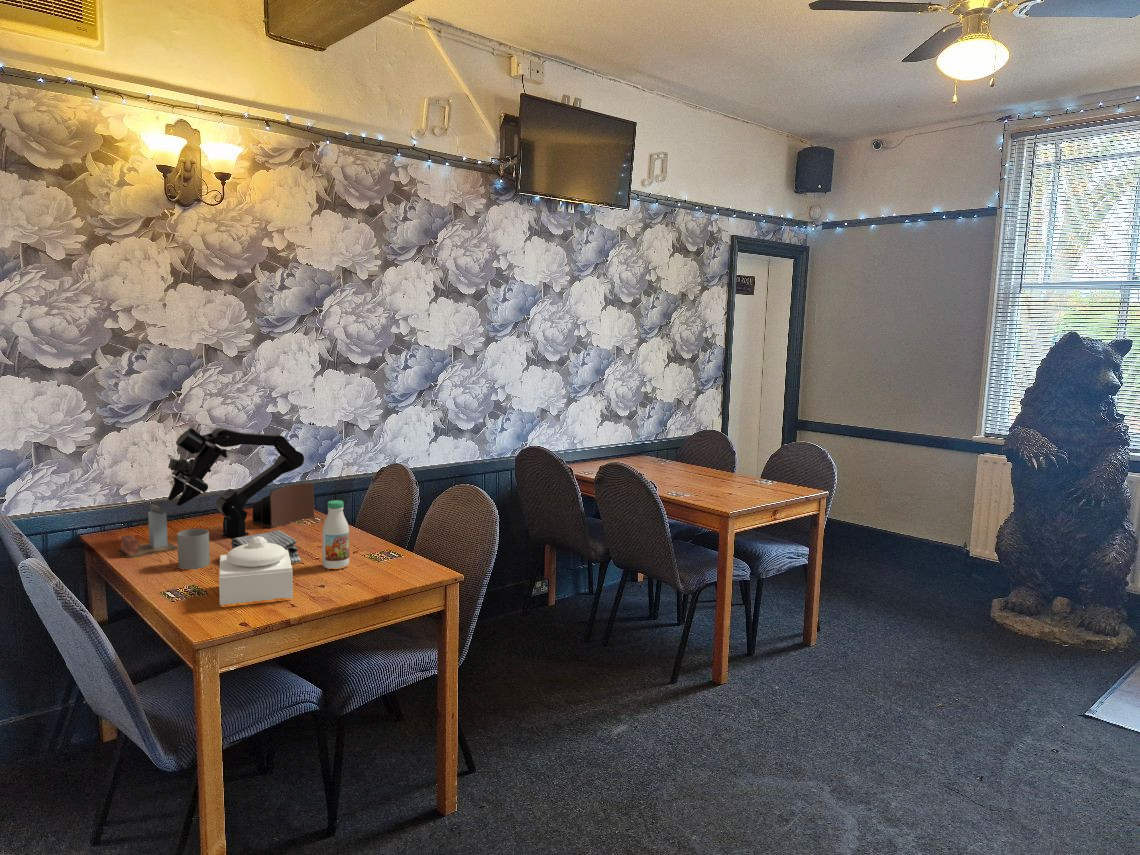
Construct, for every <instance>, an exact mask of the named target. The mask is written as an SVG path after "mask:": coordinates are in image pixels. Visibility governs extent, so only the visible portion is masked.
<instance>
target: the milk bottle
mask: <svg viewBox="0 0 1140 855" xmlns="http://www.w3.org/2000/svg"><path fill="white" fill-rule="evenodd" d="M326 504H327V515H326V518H325V521H324V523H323V526H322V540H321V543H322V545H321V546H322V547H321V548H322V549H321V550H322V551H321V553H322V555H321V558H322V559H321V560H322V567H323V566H324V567H326V568H340V567H344V566H347V565H348V564H349V565H350V530H349V528H350V527H349V523H348V521H347V519H346V517H345V514H344V509H345V508H344V506H345V505H344V501H343V500H336V499H335V500H329V501H327V503H326ZM324 567H323V568H324Z"/></svg>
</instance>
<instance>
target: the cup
mask: <svg viewBox="0 0 1140 855" xmlns="http://www.w3.org/2000/svg"><path fill="white" fill-rule="evenodd" d="M176 537H177V538H176V539H177V564H178V568H179V567H180V568H183V569H182V570H184V569H194V570H199V569H198V568H201V569H203V567H204V568H206V567H205V566H207V565H209V566H210V564H209V563H211V562H210V560H211V559H210V530H208V529H204V528H191V529H183V530H181V531H179V532H177V534H176ZM207 567H208V566H207ZM180 568H179V569H180Z"/></svg>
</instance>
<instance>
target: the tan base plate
mask: <svg viewBox="0 0 1140 855" xmlns="http://www.w3.org/2000/svg"><path fill="white" fill-rule="evenodd" d="M138 542H139V540H138V539H137V538H136V537H134V536H132V535H131V534H127V535H121V536H120V543H121V548H120V552H121V553H123V554H124V555H125V554H126V556H127V555H128V556H129V557H128V556H127V557H128V558H130V557H133V558H136V557H135V556H138V557H141V556H140V555H144V556H147V555H146V554H149V555H152V554H151V553H155V554H157V553H156V552H161V553H163V552H162V551H166V552H168V551H167V550H172V551H176V550H175V549H177V550H178V546H177V545H175V544H173V543H171V542H169V540H167V542H168V546H166V547H160V548H152V547H151V546H149V543H147V544H146V543H145V544H141V545H139V543H138Z"/></svg>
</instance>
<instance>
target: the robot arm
mask: <svg viewBox="0 0 1140 855" xmlns="http://www.w3.org/2000/svg"><path fill="white" fill-rule="evenodd" d="M206 442H207V443H208V444H207V443H206ZM209 444H211V445H209ZM175 445H176V446H178V447H179V448H180V449H182V450H184V451H186V452H188V453H189V454H191V455H193V454H197V455H196V457H194V458H191V459H189V461H188V460H187V459H183V458H180V459H176V458H170V460H169V463H168V466H167V468H168V469H170V470H171V471H172V473H171V475H172V476H171V478H172V479H173V484H172V487H171V489H170V492H169V495H168V498H167V500H168V501H171V502H172V501H173V500H174V499H175V498H177V497H178V496H179V498H178V500H177V502H176V506H178V507H181V506H182V505H184V504H186V503H188V502H189V501H190V500H192V499H195V498H196V497H198V496H200V495H203V493H204V494H206V492H207V491H208V489H209V484H208V483H206V482H205V481H204V478H205V477H206V475H207V474H208V473H211V472H212V467H213V466H214V464H216V462H217V460H218V459H219V458H220V457H223V458H228V455H227V449H225V448H231V447H237V446H242V445H248V446H249V445H251V446H270V447H274V448H275V450H276V452H277V453H278V454H279V456H278V457H277V459H276V460H275V462H274V463H273V464H272V465H271V466H269V467H267V468H266V469H265V470H264V471H262V472H261V473H260V474H258V475H257V476H255V477H254V478H253V479H251V480H249V482H247V483H246V484H244V485H243V486H241V487H240V488H238V489H236V490H234V489H232V488H228V489H227V490H226V491H225V492H224V493H221V494H220V495H219V497H218V499H216V505H215V506H216V510H218V511H219V512H220V513H221V515H222V516H223V521H222V533H221V534H220V537H222V536H223V537H224V538H231V539H234V538H238V537H245V536H248V535H250V533H249V532H248V531H246V519H247V516H248V512H247V511H246V510H244V509H243V508H244V506H245V505H246V504H247V502H248V501H249V500H250V498H252V497H253V496H255V495H256V494H258V493H259V492H260V491H261V490H263V489H264V488H266V487H268V486H269V485H270V484H271V483H272V482H274V481H275V480H277V479H278V478H279V477H281V476H282V475H283V474H287V473H290V472H292V471H295V470H296V469H298V468H300V467H301V466H303V465H304V461H305V456H304V454H303V453H302V452H300V451H297V449H295V447H294V446H292V444H290V443H289V442H288V440H287V439H286V438H285V436H283V435H281V434H277V433H274V434H269V433H255V432H253V433H252V432H240V431H235V430H232V429H228V428H225V427H224V428H223V427H217V428H215V429H213V430H212V432H210V433H207V434H204V435H201V434H200V433H199V432H197V431H196V430H195V429H193V427H188V429H187V430H185V431H183V433H182V434H180V435H179V436H178V438H177V440H176V443H175ZM218 446H219V447H218ZM220 447H223V448H220Z"/></svg>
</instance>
